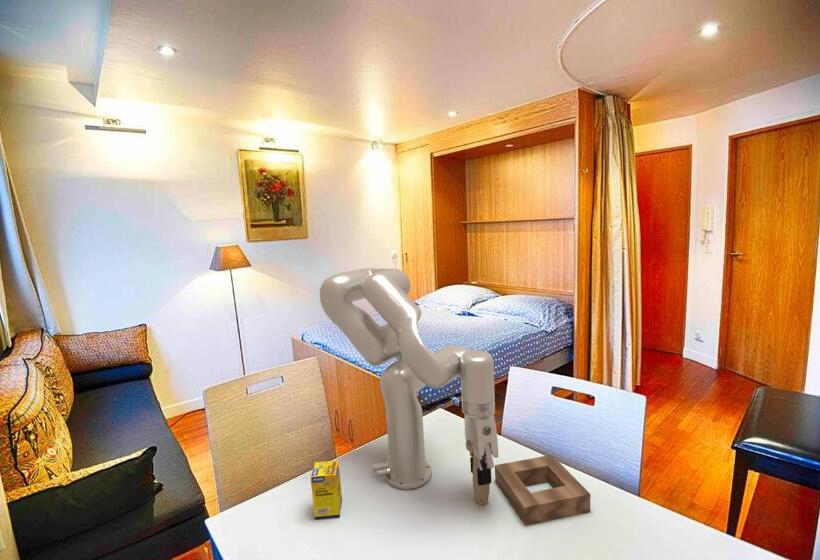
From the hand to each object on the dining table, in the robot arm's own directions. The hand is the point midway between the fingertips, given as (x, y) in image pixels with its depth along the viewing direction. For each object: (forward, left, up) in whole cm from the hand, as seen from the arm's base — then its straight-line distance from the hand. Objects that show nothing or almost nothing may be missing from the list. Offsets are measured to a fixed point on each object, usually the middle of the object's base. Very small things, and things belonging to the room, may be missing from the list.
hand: (480, 477), depth 96 cm
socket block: (+14, -2, -6) cm, 15 cm away
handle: (0, 0, -6) cm, 6 cm away
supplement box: (-36, +7, -7) cm, 37 cm away
